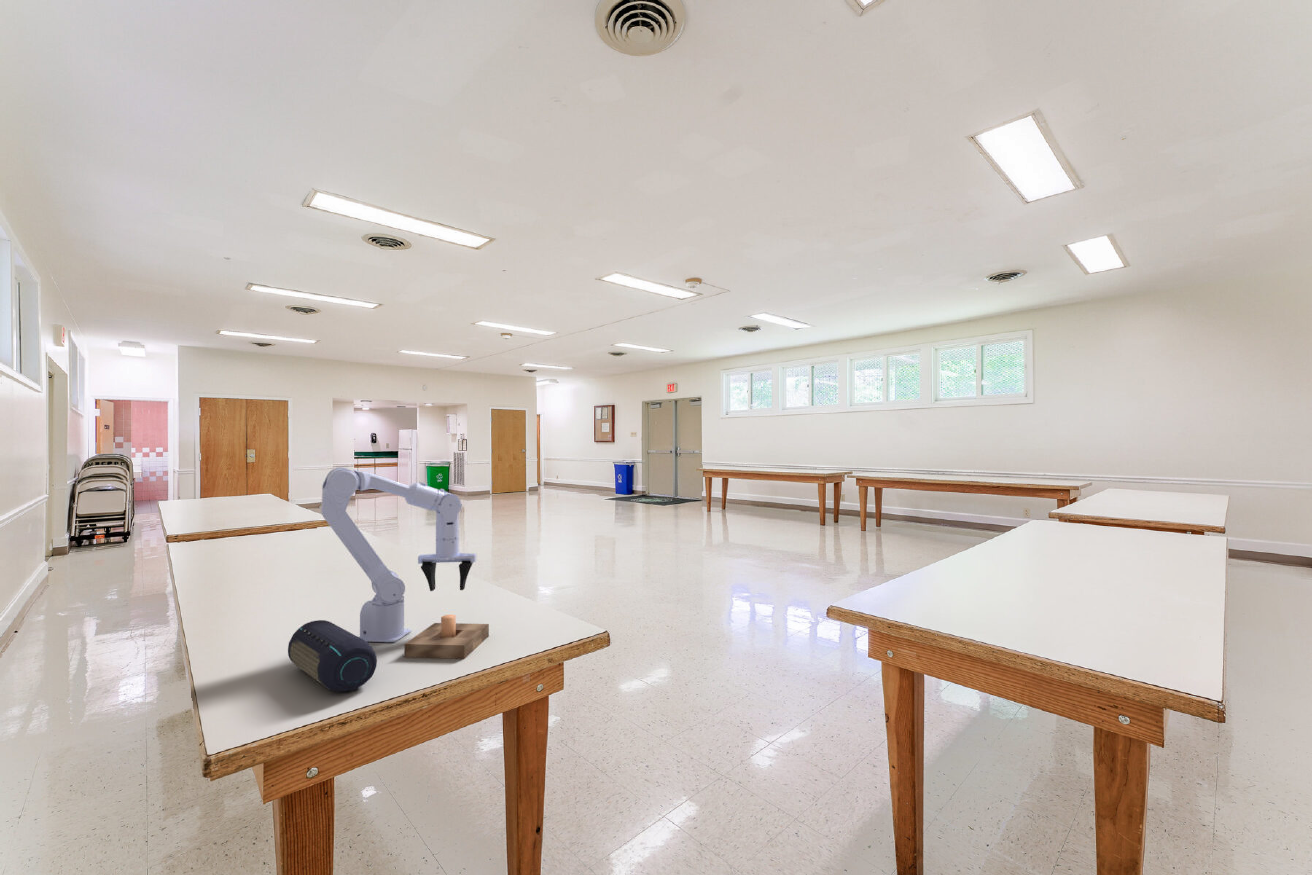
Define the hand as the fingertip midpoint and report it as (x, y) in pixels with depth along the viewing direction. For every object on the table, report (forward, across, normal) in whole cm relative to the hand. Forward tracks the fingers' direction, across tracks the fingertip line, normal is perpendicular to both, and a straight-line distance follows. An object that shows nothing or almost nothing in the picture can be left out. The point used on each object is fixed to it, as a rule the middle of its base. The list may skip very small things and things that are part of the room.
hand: (447, 589), depth 142 cm
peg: (+9, +5, -15) cm, 18 cm away
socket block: (+9, +5, -15) cm, 18 cm away
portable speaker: (+10, -15, -30) cm, 35 cm away
